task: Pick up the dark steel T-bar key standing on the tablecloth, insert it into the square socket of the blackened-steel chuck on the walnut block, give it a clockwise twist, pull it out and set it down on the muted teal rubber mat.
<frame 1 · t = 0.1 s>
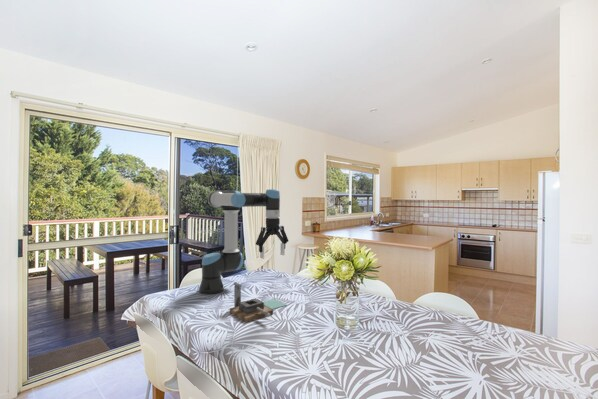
hand: (272, 256, 162), 28 cm above the table, fingers open, 13 cm apart
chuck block: (251, 313, 154), on the table
mat: (273, 304, 166), on the table
key: (237, 307, 161), on the table
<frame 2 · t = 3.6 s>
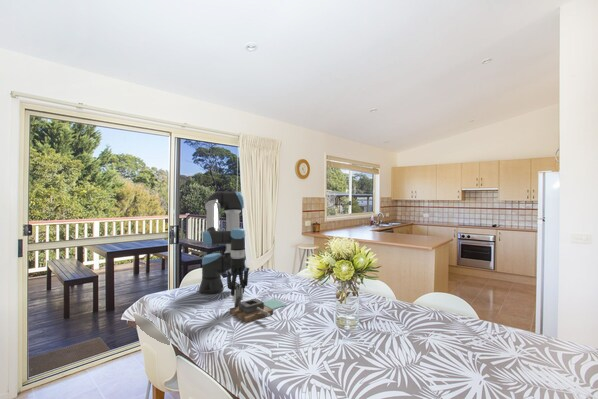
hand: (237, 300, 161), 4 cm above the table, fingers closed on key, 3 cm apart
key: (237, 307, 161), on the table, touching gripper
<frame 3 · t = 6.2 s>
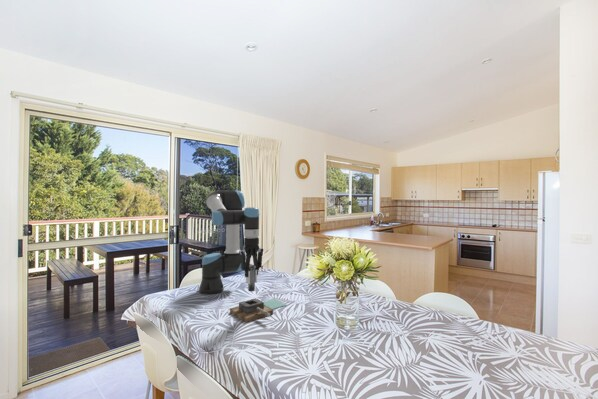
hand: (251, 282, 154), 16 cm above the table, fingers closed on key, 3 cm apart
key: (251, 290, 154), point 12 cm above the table, touching gripper
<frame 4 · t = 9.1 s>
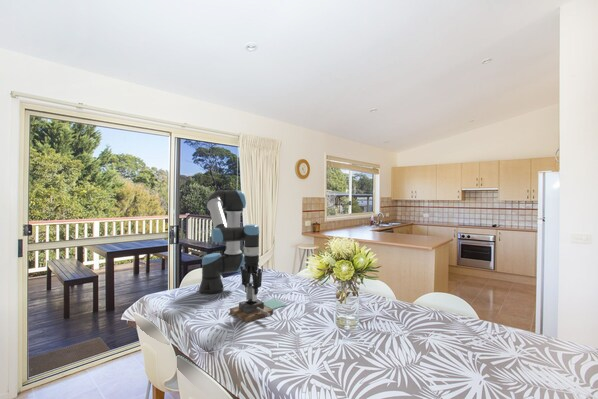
hand: (251, 299, 154), 7 cm above the table, fingers closed on key, 3 cm apart
key: (251, 307, 154), point 3 cm above the table, touching gripper
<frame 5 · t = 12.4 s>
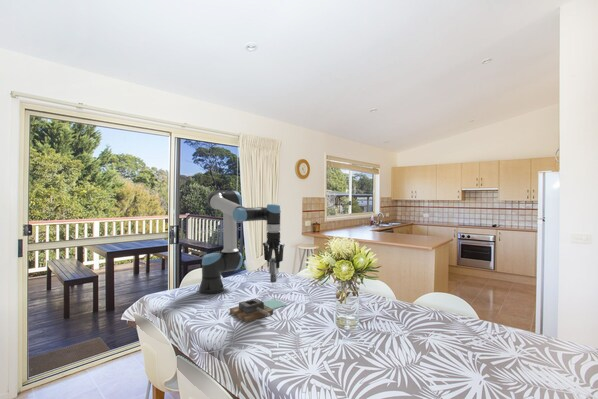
hand: (273, 273, 166), 17 cm above the table, fingers closed on key, 3 cm apart
key: (273, 281, 166), point 13 cm above the table, touching gripper
when the fingers open (5 cm above the table, at t = 14.7 s): key stays where it is, resting on mat.
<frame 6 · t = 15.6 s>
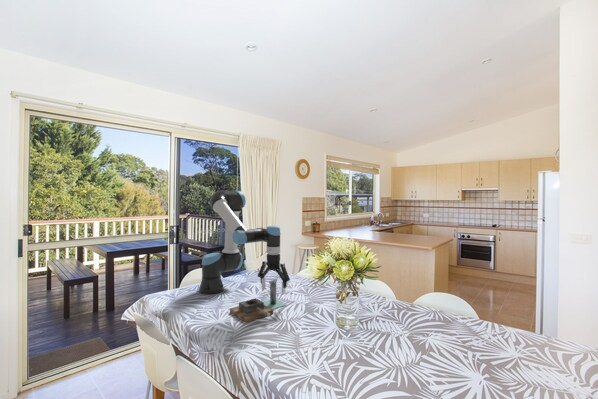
hand: (273, 291, 166), 7 cm above the table, fingers open, 13 cm apart
key: (273, 303, 166), resting on mat
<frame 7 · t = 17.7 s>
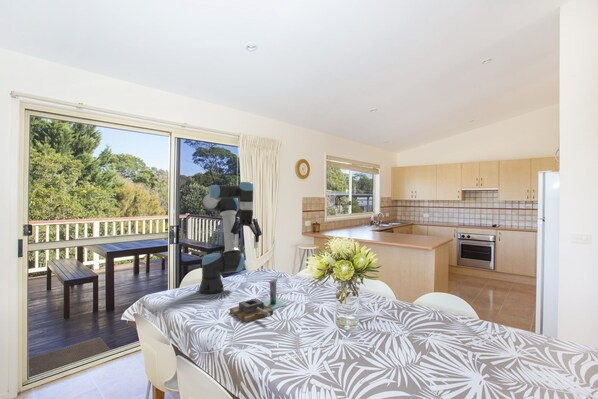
hand: (245, 246, 168), 32 cm above the table, fingers open, 13 cm apart
nothing on the table moved.
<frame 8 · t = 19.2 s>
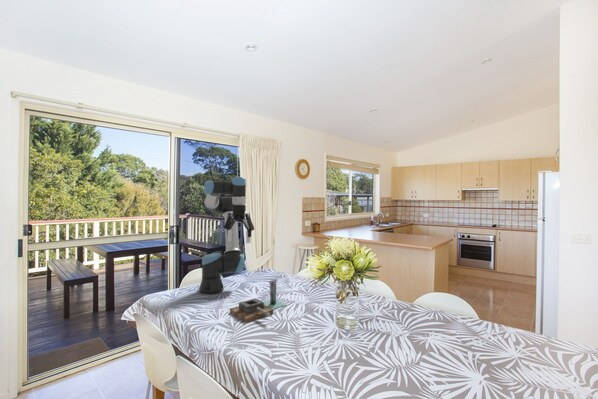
hand: (238, 242, 168), 35 cm above the table, fingers open, 13 cm apart
nothing on the table moved.
at the end: key inside the target area on the mat (0.0 cm from its centre), point 0.4 cm above the mat's base; the gripper is holding nothing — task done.
